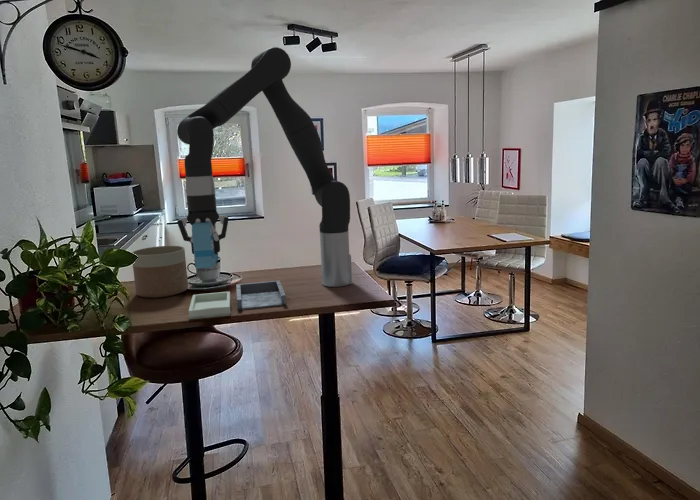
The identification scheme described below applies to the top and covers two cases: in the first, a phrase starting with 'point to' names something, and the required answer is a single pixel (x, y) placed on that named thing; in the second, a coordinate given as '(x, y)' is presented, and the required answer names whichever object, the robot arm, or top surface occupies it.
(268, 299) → the bay
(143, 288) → the planter
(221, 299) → the tray
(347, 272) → the robot arm
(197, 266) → the blue flat block
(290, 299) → the top surface
